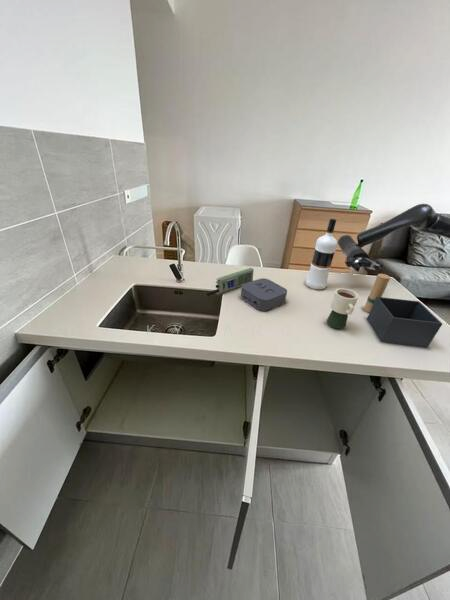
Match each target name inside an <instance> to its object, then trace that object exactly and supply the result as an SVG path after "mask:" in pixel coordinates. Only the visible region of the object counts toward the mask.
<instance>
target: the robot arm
mask: <svg viewBox="0 0 450 600" xmlns="http://www.w3.org/2000/svg"><path fill="white" fill-rule="evenodd" d="M407 227H410V228H412V229H413V230H414V231H417V232H421V233H425V234H431V235H436V236H441V237H443V238H446V239H449V240H450V217H448V216H445V215H442V214H440V213H437V212H436V210H435V209H434V208H433V207H432V205H430V204H428V203H420V204H417V205H414V206H412V207H410V208H408V209H406V210H404V211H403V212H401V213H400V214H397V215H396V216H394V217H392V218H390V219H388V220H386V221H384V222H382V223H381V224H378V225H376V226H374V227H370V228H369V229H366V230H363V231H360V232H358V233H357V234H356V241H357V242H355V239H354V238H353V237H352V235H349V234H343V235H341V236H340V237H339V238H338V239H337V242H338V245H337V246H338V248H339V250H341V252H342V254H343V255H345V260H344V263H345V265H346V267H347V268H351V269H353V270H354V271H356V272H360V269H361V268H365V269H369V270H373V271H375V272H376V273H377V275H378V274H382V272H383V268H384V267H385V264H383V263H382V262H381V261H380V260H379V259H376V260H372V259H370V255H369V253H367V252H366V251H365V250H364V249H363V247H365V246H369V245H371V244H374V243H377V242H379V241H381V240H383V239H385V238H386V237H388V236H389V235H390V234H392V233H394V232H396V231H397V230H400V229H404V228H407Z"/></svg>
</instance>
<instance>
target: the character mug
mask: <svg viewBox="0 0 450 600" xmlns="http://www.w3.org/2000/svg"><path fill="white" fill-rule="evenodd" d="M358 299H359V294H358V293H357V292H356V291H354V290H351V289H349V288H343V287H341V288H336V289H335V291H334V294H333V298H332V300H331V303H330V309H331V311H330V313H329V315H328V316H327V319H326V323H327V325H328V326H330V327H332V328H335V329H339V330H340V329H341V330H344V329H345V328H346V326H347V324H348V323H347V322H348V318H349V316H350V315H352V314H353V312H354V310H355V309H354V308H355V307H356V304H357V303H358V302H357V301H358Z"/></svg>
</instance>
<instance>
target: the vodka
mask: <svg viewBox="0 0 450 600" xmlns="http://www.w3.org/2000/svg"><path fill="white" fill-rule="evenodd" d="M337 220H338V219H336V218H329V222H328V224H327V228H326V232H325V234H324V235H322V236H319V237H318V238H317V239H316V242H315V245H314V252H313V255H312V259H311V263H310V268H309V271H308V274H307V277H306V278H305V281H304V282H305V285H306V286H307V287H308V288H310V289H313V290H317V291H318V290H324V289H325V288H326V287H327V285H328V278H329V273H330V270H331V269H332V263H333V260H334V256H335V253H336V251H337V247H338V246H339V245H338V239H336V238H335V237H334V236H333V234H334V231H335V227H336V223H337Z"/></svg>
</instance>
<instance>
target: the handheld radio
mask: <svg viewBox="0 0 450 600" xmlns="http://www.w3.org/2000/svg"><path fill="white" fill-rule="evenodd" d="M215 280H216V281H215V284H216V285H215V288H216V289H214V290H211V291H208V292H206V296H207V297H209V296H213V295H214V294H216V295H221V294H224V293H226V292H229V291H231V290H234V289H237V288H240V287H242V285H243V284H245V283H248V282H251V281H254V268H252V267H249V268H245V269H242V270H238V271H236V272H233V273H229V274H225V275H222V276H220V277H217V278H215Z"/></svg>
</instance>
